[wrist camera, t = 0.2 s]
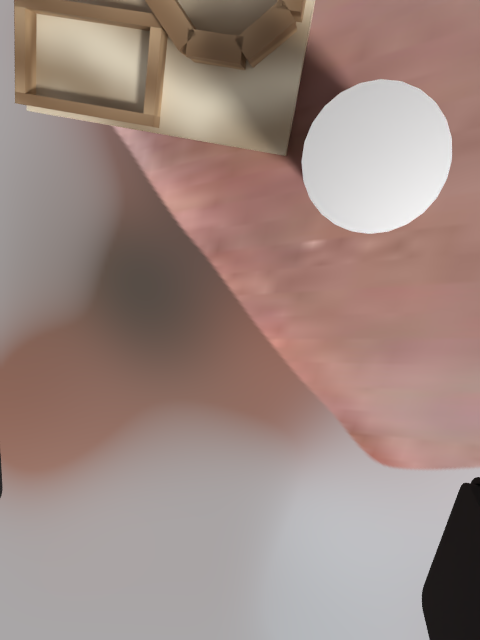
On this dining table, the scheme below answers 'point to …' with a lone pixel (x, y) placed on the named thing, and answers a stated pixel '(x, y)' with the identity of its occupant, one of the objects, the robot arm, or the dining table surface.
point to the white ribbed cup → (377, 156)
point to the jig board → (167, 65)
